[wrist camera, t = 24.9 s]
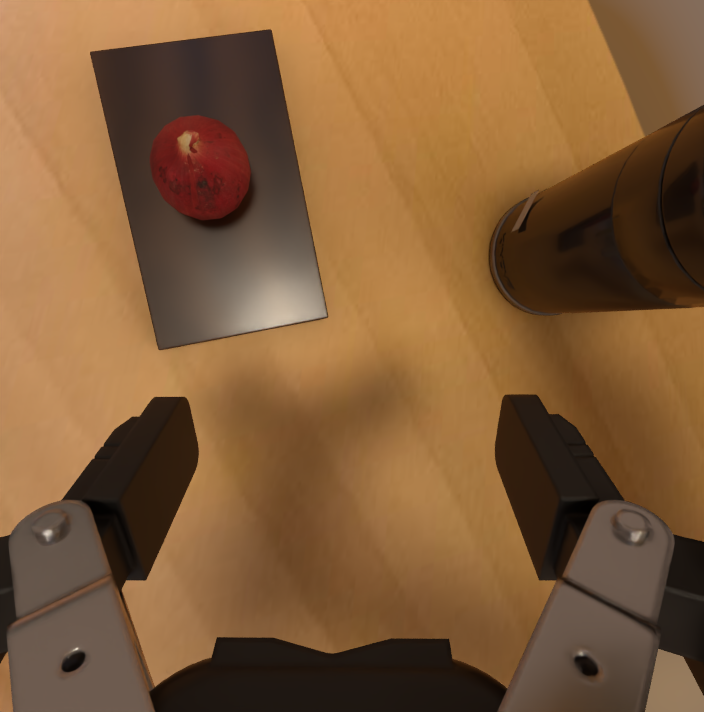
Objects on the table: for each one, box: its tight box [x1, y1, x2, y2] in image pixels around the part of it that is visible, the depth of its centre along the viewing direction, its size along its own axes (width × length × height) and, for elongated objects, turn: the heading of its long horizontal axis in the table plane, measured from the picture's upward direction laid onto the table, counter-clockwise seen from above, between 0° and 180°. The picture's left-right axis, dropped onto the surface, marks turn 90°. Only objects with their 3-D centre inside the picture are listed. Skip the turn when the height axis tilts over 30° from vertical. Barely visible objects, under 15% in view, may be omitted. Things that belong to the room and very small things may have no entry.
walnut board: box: [90, 30, 328, 350], centre depth 33 cm, size 12×20×2 cm, turn 11°
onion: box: [150, 115, 251, 220], centre depth 28 cm, size 6×6×8 cm
